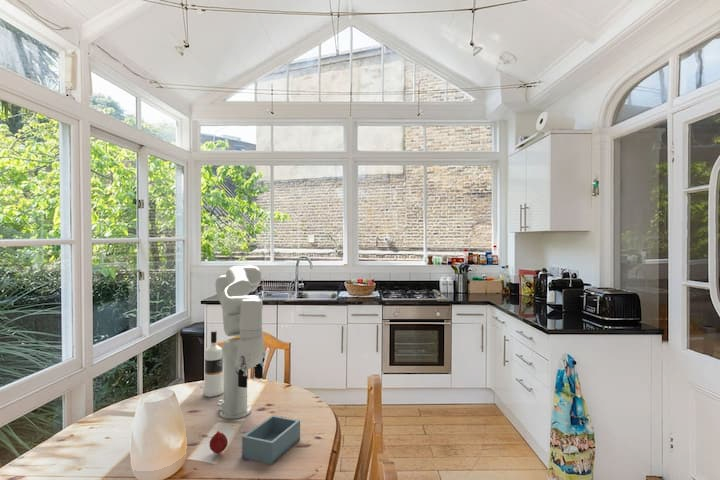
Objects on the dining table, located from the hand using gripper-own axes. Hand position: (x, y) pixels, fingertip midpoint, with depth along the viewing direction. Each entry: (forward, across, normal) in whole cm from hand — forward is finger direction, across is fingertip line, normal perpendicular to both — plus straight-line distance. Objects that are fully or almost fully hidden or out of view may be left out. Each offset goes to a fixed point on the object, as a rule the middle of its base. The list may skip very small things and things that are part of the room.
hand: (250, 382), depth 141 cm
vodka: (+23, -38, -46) cm, 64 cm away
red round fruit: (+23, +7, -8) cm, 26 cm away
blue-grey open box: (+23, -2, +7) cm, 24 cm away
